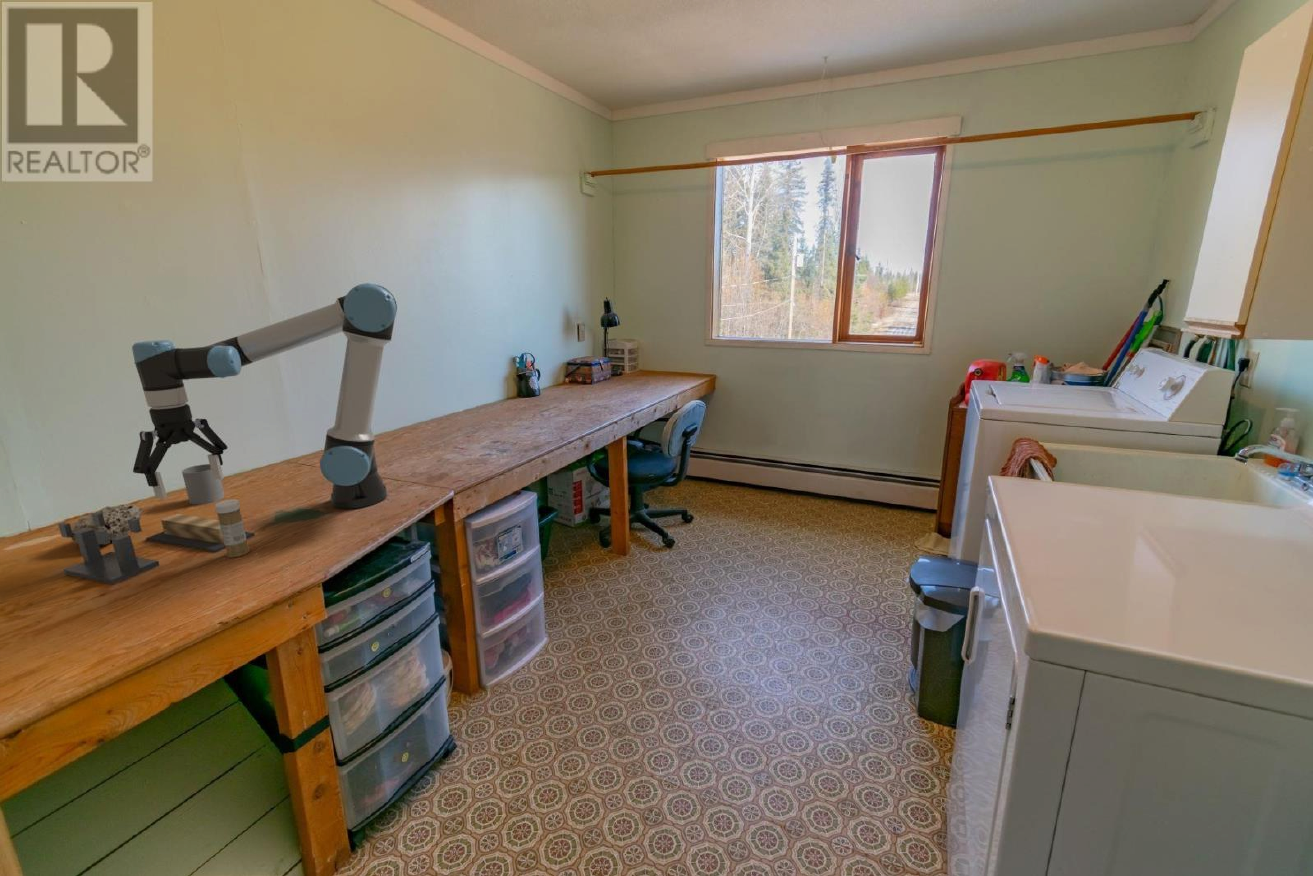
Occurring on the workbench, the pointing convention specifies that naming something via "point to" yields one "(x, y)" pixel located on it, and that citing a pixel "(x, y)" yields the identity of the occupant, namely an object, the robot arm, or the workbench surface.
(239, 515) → the sprinkles bottle
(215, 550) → the mat
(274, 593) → the workbench surface
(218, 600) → the workbench surface
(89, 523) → the pumice stone
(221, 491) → the cup
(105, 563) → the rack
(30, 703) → the workbench surface
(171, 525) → the rail
